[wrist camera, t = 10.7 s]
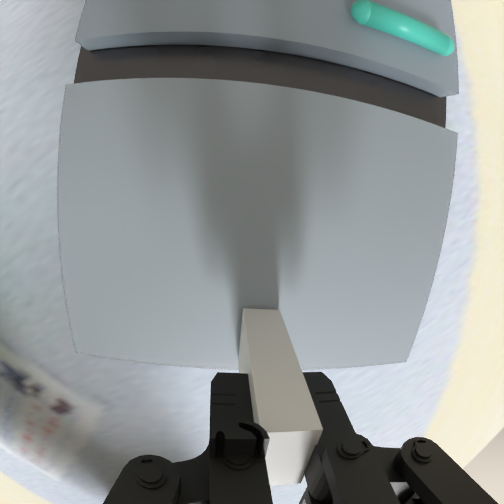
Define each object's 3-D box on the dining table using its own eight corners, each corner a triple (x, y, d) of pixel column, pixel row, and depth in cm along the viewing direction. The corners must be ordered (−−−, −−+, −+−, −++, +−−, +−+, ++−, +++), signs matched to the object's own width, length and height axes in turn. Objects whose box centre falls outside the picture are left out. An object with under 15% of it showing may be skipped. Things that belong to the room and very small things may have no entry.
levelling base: (376, 336, 19) (396, 360, 16) (98, 324, 17) (80, 350, 14) (406, -44, 11) (426, -61, 9) (149, -84, 9) (142, -108, 6)
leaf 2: (394, 347, 16) (406, 362, 15) (85, 336, 14) (75, 352, 13) (439, 133, 13) (457, 133, 11) (80, 90, 11) (65, 84, 9)
